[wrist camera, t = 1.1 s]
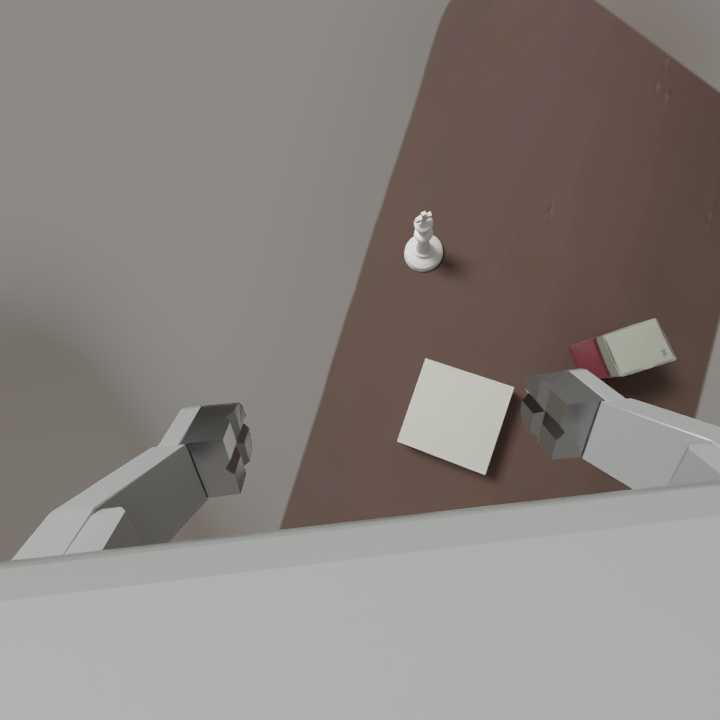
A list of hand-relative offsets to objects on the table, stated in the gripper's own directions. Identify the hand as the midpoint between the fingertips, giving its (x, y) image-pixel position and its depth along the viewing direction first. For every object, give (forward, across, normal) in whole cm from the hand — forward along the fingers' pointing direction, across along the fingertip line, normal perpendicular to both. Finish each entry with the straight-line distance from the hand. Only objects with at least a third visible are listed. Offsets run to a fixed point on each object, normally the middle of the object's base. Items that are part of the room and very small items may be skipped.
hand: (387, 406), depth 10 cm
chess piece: (+37, +10, -4) cm, 38 cm away
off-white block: (+25, +11, -20) cm, 34 cm away
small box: (+25, +28, -14) cm, 40 cm away
